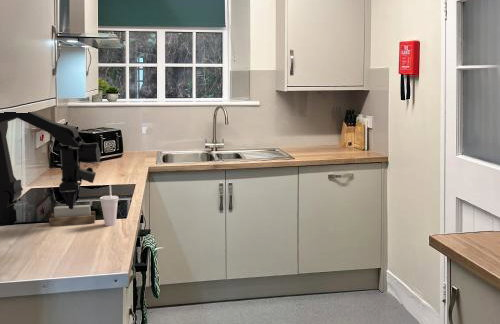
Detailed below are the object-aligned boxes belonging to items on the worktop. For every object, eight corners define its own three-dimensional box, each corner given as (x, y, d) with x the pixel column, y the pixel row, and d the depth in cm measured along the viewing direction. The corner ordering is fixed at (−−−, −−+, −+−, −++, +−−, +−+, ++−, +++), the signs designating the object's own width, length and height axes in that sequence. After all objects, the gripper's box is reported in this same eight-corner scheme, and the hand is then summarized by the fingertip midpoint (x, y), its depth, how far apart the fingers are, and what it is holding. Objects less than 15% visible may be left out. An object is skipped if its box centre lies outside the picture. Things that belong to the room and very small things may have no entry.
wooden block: (49, 226, 186) (49, 218, 185) (52, 220, 193) (51, 213, 192) (94, 223, 189) (94, 216, 189) (95, 218, 196) (95, 211, 196)
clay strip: (54, 222, 188) (53, 208, 187) (55, 220, 191) (54, 206, 190) (90, 220, 191) (89, 206, 190) (90, 218, 194) (90, 204, 193)
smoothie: (120, 226, 185) (118, 186, 183) (100, 227, 183) (98, 187, 181) (119, 221, 191) (117, 182, 189) (100, 222, 189) (98, 184, 187)
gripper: (92, 165, 181) (94, 210, 183) (94, 158, 198) (97, 199, 201) (57, 167, 178) (60, 212, 180) (63, 159, 196) (65, 201, 198)
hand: (72, 206), depth 190 cm, fingers open, 9 cm apart
